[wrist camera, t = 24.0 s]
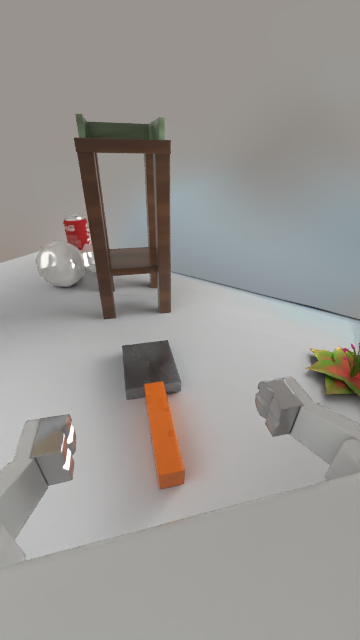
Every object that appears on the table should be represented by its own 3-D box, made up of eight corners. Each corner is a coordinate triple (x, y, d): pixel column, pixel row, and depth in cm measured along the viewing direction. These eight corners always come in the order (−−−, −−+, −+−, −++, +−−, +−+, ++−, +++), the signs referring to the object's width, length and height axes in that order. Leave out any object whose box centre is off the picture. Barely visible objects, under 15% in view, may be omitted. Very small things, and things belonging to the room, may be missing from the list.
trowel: (123, 354, 38) (121, 342, 37) (167, 348, 39) (167, 336, 38) (134, 495, 22) (132, 482, 21) (207, 478, 24) (209, 464, 23)
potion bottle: (41, 298, 55) (97, 282, 67) (62, 281, 49) (120, 266, 61) (19, 257, 54) (80, 247, 66) (38, 234, 48) (101, 228, 60)
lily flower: (381, 354, 39) (394, 328, 37) (430, 423, 29) (453, 394, 26) (295, 344, 41) (303, 319, 38) (313, 406, 31) (325, 377, 28)
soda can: (83, 260, 71) (74, 212, 64) (99, 263, 69) (90, 214, 62) (68, 266, 67) (57, 216, 60) (84, 270, 65) (73, 218, 58)
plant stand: (171, 312, 48) (170, 116, 33) (103, 319, 46) (69, 111, 31) (159, 283, 59) (155, 124, 44) (104, 287, 57) (79, 121, 42)
